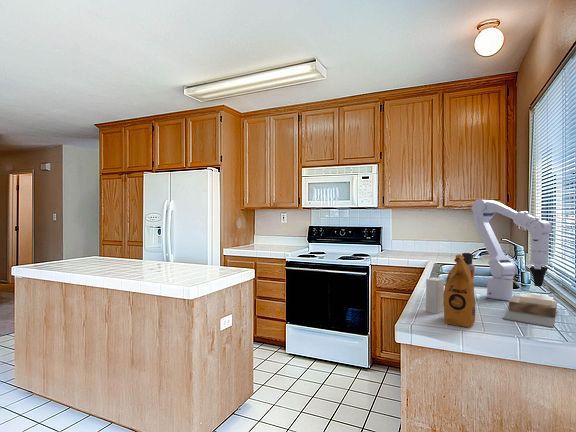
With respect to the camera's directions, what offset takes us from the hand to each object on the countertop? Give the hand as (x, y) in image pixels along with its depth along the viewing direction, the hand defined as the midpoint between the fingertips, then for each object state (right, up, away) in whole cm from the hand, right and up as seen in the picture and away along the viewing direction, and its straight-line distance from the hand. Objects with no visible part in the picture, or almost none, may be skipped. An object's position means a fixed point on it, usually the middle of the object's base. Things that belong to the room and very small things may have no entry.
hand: (538, 285), depth 143 cm
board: (-6, -8, -6) cm, 12 cm away
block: (-6, -5, -7) cm, 10 cm away
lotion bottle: (-25, -8, +7) cm, 27 cm away
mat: (-15, -8, -17) cm, 24 cm away
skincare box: (-45, -8, -10) cm, 47 cm away
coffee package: (-42, -8, -22) cm, 48 cm away
